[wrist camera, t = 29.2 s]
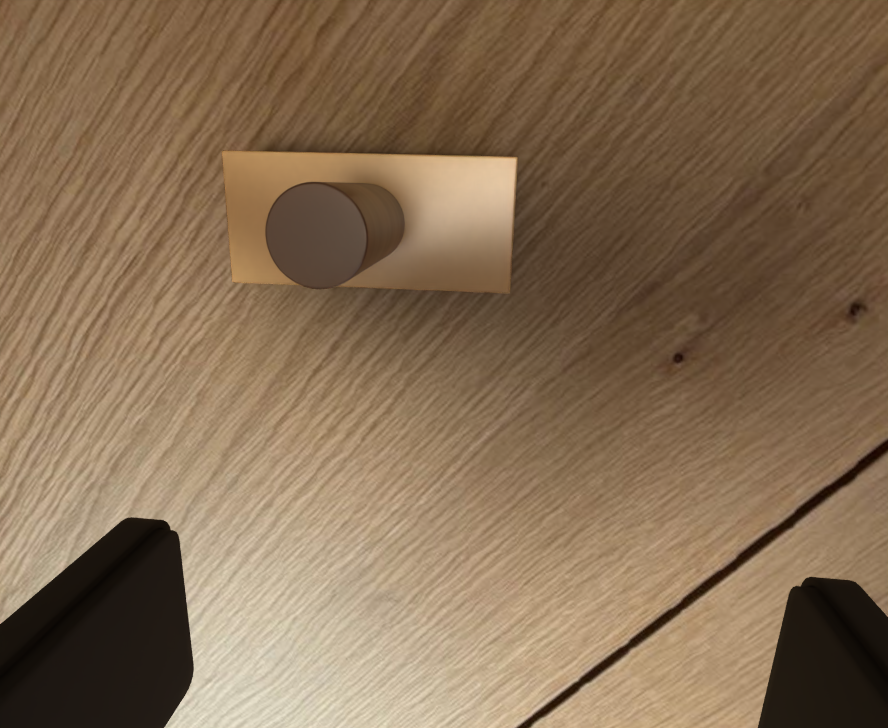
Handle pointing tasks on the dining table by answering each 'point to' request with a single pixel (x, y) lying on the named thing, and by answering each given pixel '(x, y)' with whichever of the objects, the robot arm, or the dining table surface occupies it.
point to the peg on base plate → (371, 220)
